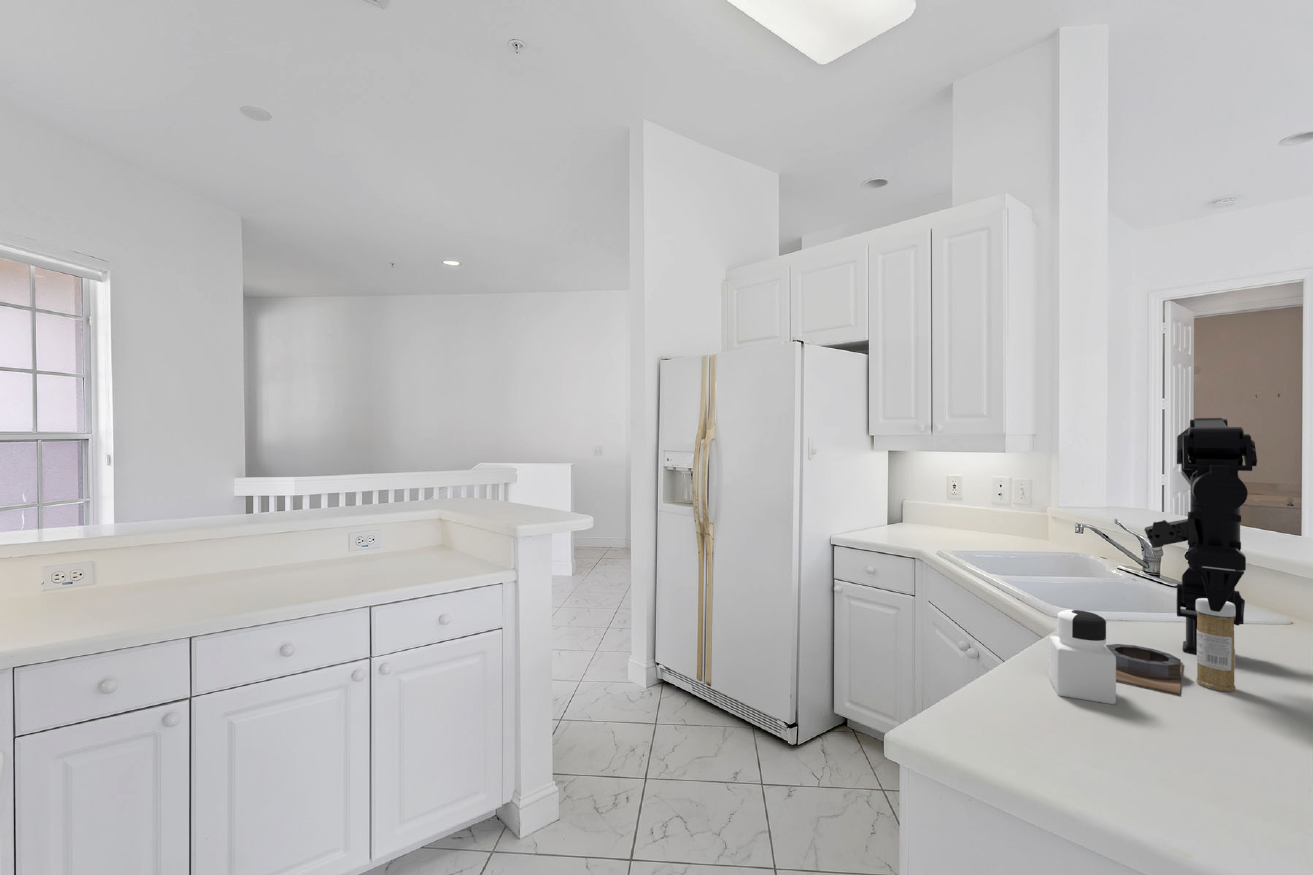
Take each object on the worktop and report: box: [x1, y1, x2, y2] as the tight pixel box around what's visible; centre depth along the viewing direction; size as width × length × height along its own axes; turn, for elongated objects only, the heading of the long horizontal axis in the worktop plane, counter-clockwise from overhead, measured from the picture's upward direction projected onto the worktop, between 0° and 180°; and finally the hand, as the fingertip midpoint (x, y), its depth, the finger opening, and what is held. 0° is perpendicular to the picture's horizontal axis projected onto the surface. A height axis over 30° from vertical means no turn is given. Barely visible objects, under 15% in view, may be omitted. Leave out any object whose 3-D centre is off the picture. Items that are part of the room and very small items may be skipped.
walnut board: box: [1116, 661, 1184, 697], centre depth 99 cm, size 18×10×1 cm, turn 137°
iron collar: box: [1105, 643, 1182, 680], centre depth 99 cm, size 10×10×2 cm
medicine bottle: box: [1048, 609, 1117, 705], centre depth 90 cm, size 7×7×12 cm
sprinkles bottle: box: [1196, 598, 1237, 692], centre depth 93 cm, size 5×5×14 cm
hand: (1214, 604), depth 93 cm, fingers open, 9 cm apart
